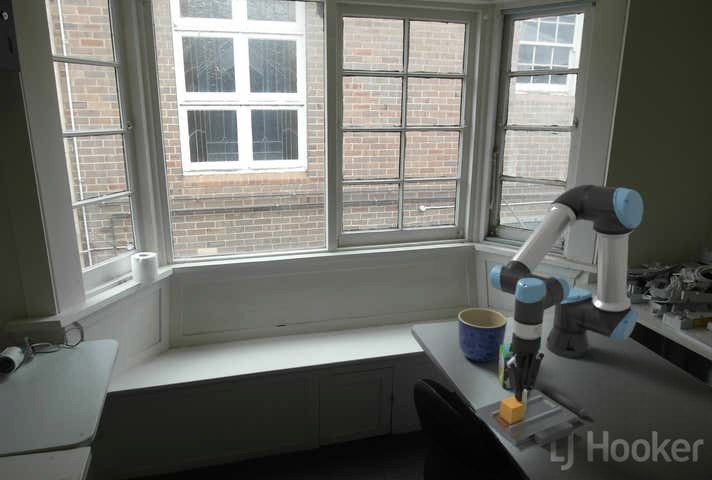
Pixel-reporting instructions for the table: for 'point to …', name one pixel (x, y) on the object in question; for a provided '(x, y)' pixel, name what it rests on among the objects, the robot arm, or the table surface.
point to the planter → (481, 333)
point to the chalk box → (503, 371)
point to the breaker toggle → (512, 410)
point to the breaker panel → (527, 418)
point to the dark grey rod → (564, 401)
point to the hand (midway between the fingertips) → (520, 408)
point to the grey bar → (553, 433)
